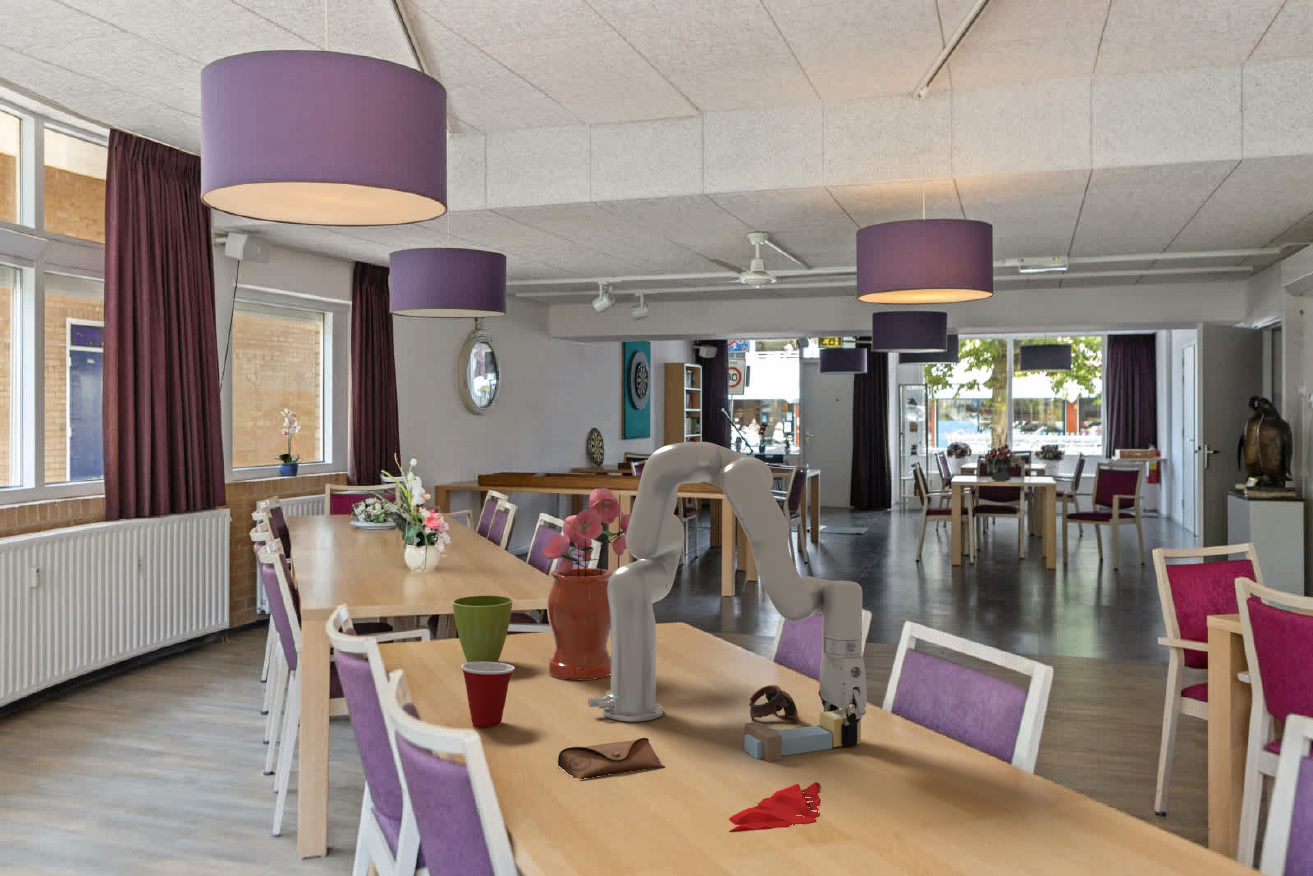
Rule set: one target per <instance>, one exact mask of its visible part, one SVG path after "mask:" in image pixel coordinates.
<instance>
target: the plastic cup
mask: <svg viewBox="0 0 1313 876" xmlns="http://www.w3.org/2000/svg"><path fill="white" fill-rule="evenodd" d="M460 668H461V670H462V673H463V678H464V683H465V686H466V687H465V689H466V694H467V695H466V696H467V701H468V702H467V703H468V709H469V710H470V711H469V712H470V713H469V714H470V718H471V719H470V720H471V723H472V726H473V727H475V728H480V729H491V728H496V727H497V725H498V726H500V725H501V724H502V720H503V714H504V708H505V705H506V700H507V694H508V688H509V684H510V680H511V677H512V674H513V672H514V671H515V669H516V668H515V666H514V665H512V664H509V663H504V662H498V663H497V662H470V663H468V662H466V663H463V664H461V665H460ZM500 723H501V724H500ZM499 724H500V725H499ZM495 726H496V727H495ZM490 727H491V728H490Z"/></svg>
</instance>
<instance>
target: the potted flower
mask: <svg viewBox="0 0 1313 876" xmlns="http://www.w3.org/2000/svg"><path fill="white" fill-rule="evenodd" d="M588 500H589V501H588V507H589V509H584V510H581V511H579V512H578V514H574V515H573V514H572V515H570V516H569V515H568V516H567V517H566V518H565V519H564V523H563V525H562V533H563V535H562V534H553V535H551V536H550V538H549V540H548V541H549V543H548V545H546V546H544V547H543V549H542V551H543V552H542V553H543V555H544V556H546V560H558V559H561V561H560V563H559V566H558V569H555V570H552V571H551V572H550V576H551V578H552V579H553V583H552V586H551V588H550V591H549V592H548V593H549V594H548V598H547V604H546V605H547V606H546V607H547V620H548V622H549V623H548V624H549V626H550V627H549V628H550V629H551V632H552V633H551V634H552V636H553V641H554V650H553V653H552V656H551V657H549V659H548V674H549V675H550V674H551V675H552V676H551V675H550V676H551V677H553V676H554V677H553V678H557V679H560V678H565V679H564V680H566V679H576V680H575V681H579V680H578V679H593V680H595V679H594V678H600V679H603V678H602V677H604V678H606V677H605V676H607V675H609V674H611V654H610V652H609V650H608V641H609V636H610V635H611V618H610V608H609V602H608V595H607V587H608V582H609V579H610V577H611V576H612V574H613V572H612V571H611V570H609V569H603V568H602V567H603V564H602V563H603V562H602V561H603V560H602V559H603V558H602V556H603V553H602V549H603V548H602V547H604V546H605V545H606V544H611V546H612V550H613V551H614V553H615V554H616V555H618V556H623V555H624V553H625V552H624V550H626V549H627V547H626V541H625V538H626V532H627V528H628V525H629V521H630V517H631V514H632V513H631V514H629V513H628V514H624V511H621V507H620V504H619V500H618V499H617V497H616V496H614V494H613V491H612V490H610V489H609V488H606V487H601V488H594V489H593V490H592V491H591V493H590V494H589V499H588ZM618 517H620V522H619V524H618V525H619V528H620V529H619V531H617V532H615V533H613V532H612V531H608V530H603V529H604V527H603V525H602V524H603V523H604V524H605V525H609V524H610V525H611V524H612V523H614V522H615V520H616V519H617V518H618ZM608 537H609V538H608ZM612 537H613V538H612ZM605 538H608V540H607V541H606V542H604V543H602V540H603V539H605ZM597 539H598V540H599V539H600V553H599V554H600V556H599V557H600V558H596V559H595V558H592V556H591V555H592V554H593V553H592V551H593V550H594V548H593V547H591V546H592V545H593V541H592V540H597ZM612 540H613V541H612ZM570 542H571V543H574V546H575V547H572V548H571V549H570V547H571V546H570ZM577 549H578V550H577ZM574 551H578V554H576V553H574ZM580 551H581V552H580ZM582 552H583V553H582ZM573 555H575V556H577V558H576V557H573ZM580 558H582V560H580ZM599 559H600V562H599V564H600V566H599V567H600V568H594V567H587V563H588V562H590V561H597V560H599ZM581 562H584V565H583V564H581ZM574 565H577V567H573V566H574ZM580 566H581V567H580ZM607 677H608V676H607Z"/></svg>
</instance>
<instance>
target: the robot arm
mask: <svg viewBox="0 0 1313 876" xmlns="http://www.w3.org/2000/svg"><path fill="white" fill-rule="evenodd" d="M700 483H706V484H709V485H713V486H714V487H718V488H721V490H722V493H723V494H724V496H725V498H726V500H727V502H728V503H729V505H730V507H731V509H732V511H733V512H734V515H735V516H736V518H737V520H738V522H739V524H740V526H741V528H742V529H743V532H744V534H745V536H746V538H747V540H748V542H749V544H750V547H751V553H752V558H753V561H754V564H755V569H756V572H757V575H758V577H759V580H760V582H761V584H762V587H763V588H764V590H765V593H766V594H767V596H768V598H769V600H770V602H771V603H772V606H773V607H774V608H775V610H776V611H777V612H778V613H779V615H780V616H781V617H782V618H784V619H785V620H788V621H790V622H795V623H797V622H803V621H805V620H807V619H809V618H810V617H812V616H815V615H818V614H822V618H821V619H822V621H821V622H822V625H821V626H822V627H821V628H822V630H821V633H822V635H821V636H822V637H821V653H822V654H821V659H820V669H819V670H820V671H819V689H818V697H819V698H820V700H821V703H822V706H823V712H827V711H836V710H842V714H843V721H844V724H842V732H841V744H842V745H843V746H842V747H849V746H855V745H858V744H857V724H859V720H860V719H861V720H862V718H863V716H864V715H866V714H867V710H866V707H867V702H868V701H867V700H868V699H867V697H868V696H867V694H868V693H867V677H866V666H865V661H864V660H865V659H864V657H863V656H862V653H863V651H862V650H863V647H862V646H863V643H862V642H863V589H862V586H861V585H860V584H859V582H856V581H855V582H854V581H851V580H850V581H849V580H829V579H823V578H820V577H815V576H810V575H809V576H808V575H807V576H806V575H805V576H800V574H799V572H798V569H797V568H796V565H795V564H794V562H793V559H792V556H791V552H790V548H789V534H790V526H789V522H788V519H787V518H786V516H785V514H784V513H783V510H782V508H781V507H780V505H779V503H778V501H777V500H776V498H775V496H774V494H773V493H772V490H771V489H772V488H773V485H774V475H773V472H772V470H771V468H770V467H769V465H768V464H767V463H766V462H764V461H763V460H761V459H760V458H756V457H754V456H750V455H748V454H744V453H741V452H739V451H736V450H733V449H730V448H727V447H725V446H721V445H718V444H715V443H712V442H709V441H696V442H695V441H686V442H685V441H684V442H677V443H672V444H668V445H665V446H662V447H660V448H658V449H656V450H655V451H654V452H652V454H651V455H650V456H649V457H648V459H646V462H645V463H644V465H643V469H642V472H641V476H640V480H639V485H638V489H637V493H636V497H635V500H634V503H633V506H632V511H631V517H630V521H629V525H628V528H627V532H626V535H625V541H626V547H627V548H626V549H627V552H628V553H629V554H630V555H631V556H633V557H634V558H636V561H634V562H633V561H632V562H629V563H627V564H624V565H621V566H619V567H618V568H617V569H615V570H614V571H613V572H612V576H611V577H610V579H609V582H608V587H607V595H608V602H609V608H610V618H611V631H610V656H611V675H610V690H606V691H605V692H606V693H605V694H603V695H601V696H600V697H597V696H595V697H589V698H588V699H587V704H588V705H587V706H588V707H589V708H596V707H597V708H598V709H599V710H602V711H603V712H602V713H603V715H604V716H605V717H607V718H608V719H610V720H613V721H620V722H631V723H632V722H635V723H636V722H647V721H653V720H655V719H659V718H660V717H662V716H663V714H664V708H663V706H662V705H661V704H660V703H657V702H656V701H657V700H656V699H657V695H656V694H657V692H656V691H657V626H656V625H657V624H656V618H655V613H654V607H653V604H654V603H657V602H659V601H661V600H663V599H664V598H665V597H666V596H667V595H668V594H669V593H670V591H671V590H672V587H673V585H674V581H675V578H676V574H677V570H678V566H679V563H680V559H681V555H682V551H683V549H684V548H683V547H684V543H685V529H684V525H683V523H682V520H680V519H679V517H678V516H677V515H675V514H674V513H675V511H676V507H677V505H678V504H677V503H678V493H679V487H680V486H681V485H683V484H684V485H686V484H700ZM850 705H851V706H850ZM848 711H851V712H852V713H851V715H850V716H848Z"/></svg>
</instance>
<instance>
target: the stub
mask: <svg viewBox="0 0 1313 876" xmlns="http://www.w3.org/2000/svg"><path fill="white" fill-rule="evenodd" d="M851 713H852V711H848V716H850V715H851ZM842 724H844V721H843V714H842V709H839V710H836V711H827V712H824V711H821V712H820V711H819V726H821V727H823V728H825V729H827V730H829V731H831V732H832V748H836V747H844V746H843V745H842V744H841V732H842ZM861 728H862V718H861V719H860V720H859V724H857V744H856V745H858V744H861V742H862V739H861V738H862V737H861V735H862V733H861V732H862V729H861Z"/></svg>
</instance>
